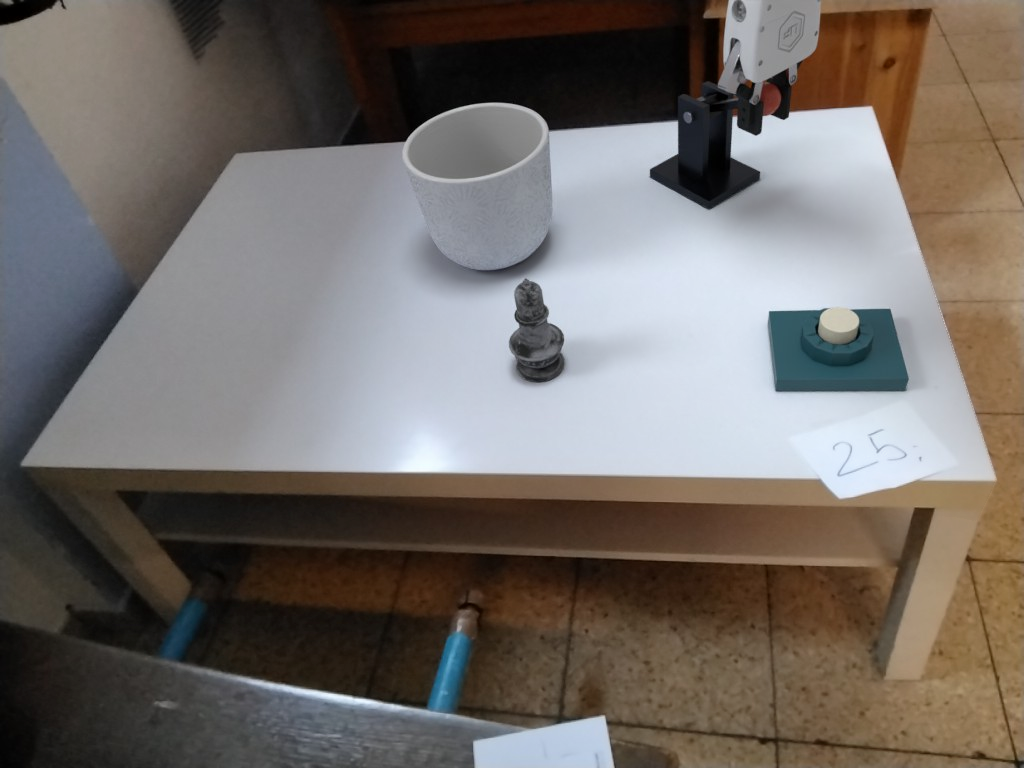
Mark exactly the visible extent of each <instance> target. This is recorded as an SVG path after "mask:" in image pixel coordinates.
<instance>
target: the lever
mask: <svg viewBox="0 0 1024 768" xmlns="http://www.w3.org/2000/svg"><path fill="white" fill-rule="evenodd" d="M696 99H697V100H699V101H701V102H703V103H706V104H708V105H710V109H709V120H710V119H712V118H714V117H716V116H717V115H719V114H721V113H722V111H726V110H733V111H734V110H738V98H737V97H734V98H733V99H727V100H721V101H719V100H718V97H717V94H713V95H707V96H702V95H701V96H700V97H698V98H696ZM760 101H762V102H764V107H763V117H768V116H772V115H771V114H772V113H774V112H775V111H776V110H777V109H778V107H779V105H780V103H781V93H780V90H779V89H778V87H777V86H775V85H774V84H772V83H769V82H766V81H765V82H764V81H763V85H762V91H761V96H760Z"/></svg>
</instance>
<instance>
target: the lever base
mask: <svg viewBox="0 0 1024 768" xmlns="http://www.w3.org/2000/svg"><path fill="white" fill-rule="evenodd" d="M713 94H717V97H718V100H719V101H721V100H727V99H733V98H735V96H734V94H733V93H729V92H726V91H724V90H721V89H719V88H718V84H715V83H713V82H711V81H709V80H707V81H705V82H704V83H702V84H701V97H702V96H707V95H713ZM697 99H698V98H694V97H691V96H690V95H688V94H685V93H683V94H681V95H679V96H677V153H676V154H675V155H673V156H671V157H669V158H668V159H666V160H664V161H661V162H660V163H659V164H657V165H655V166H654V167H651V168H650V169H649V178H651V179H653V180H655V181H656V182H657V183H660V184H661V185H664V186H665V187H667V188H669V189H671V190H673V191H674V192H677V193H678V194H680V195H682V196H683V197H685V198H687V199H689V200H691V201H693V202H695V203H697V204H698V205H700V206H702V207H703V208H706V209H707V210H711V209H713V208H714V207H716V206H718V205H719V204H721V203H723V202H725V201H726V200H727V199H729V198H731V197H733V196H734V195H736V194H738V193H739V192H741V191H743V190H744V189H746V188H748V187H750V186H752V185H753V184H754V183H756V182H758V181H759V180H761V171H760V170H759V169H756V168H753V167H752V166H750V165H748V164H745V163H743V162H741V161H740V160H738V159H735V158H733V157H732V139H733V122H734V121H733V120H734V119H733V118H734V109H733V110H726V111H722V113H721V114H719V115H717V116H716V117H714V118H712V119H710V120H709V109H710V105H708V104H706V103H703V102H701V101H699V100H697Z"/></svg>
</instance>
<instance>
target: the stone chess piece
mask: <svg viewBox="0 0 1024 768" xmlns="http://www.w3.org/2000/svg"><path fill="white" fill-rule="evenodd" d="M513 297H514V303H515V307H516V309H515V312H514V314H513V315H514V317H513V318H514V320H515V322H516V323H517V324H518V328H517V329H516V330H514V331H513V332H512V334H511V336H510V337H509V340H508V348H509V350H510V353H511V354H512V355H513V357H514V358H516V363H515V368H516V372H517V374H518V376H520V377H521V379H524V380H525V381H528V382H531V383H544V382H548V381H552V380H553V379H556V378H557V377H558V376H560V374H561V373H562V372H563V370H564V368H565V364H566V363H565V362H566V361H565V357H564V355H563V354H562V348H563V346H564V343H565V334H564V333H563V331H562V330H561V328H560V327H558V326H557V325H555V324H553V323H551V322H548V318H549V316H550V309H549V307H548V306H547V305H546V304H545V301H544V294H543V289H542V287H541V285H540V284H539V283H537V282H535V281H532V280H529V279H528V278H524V279H523V280H522V282H520V283H519V284H518V285H517V286H516V287H515V289H514V293H513Z"/></svg>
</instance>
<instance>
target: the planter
mask: <svg viewBox="0 0 1024 768" xmlns="http://www.w3.org/2000/svg"><path fill="white" fill-rule="evenodd" d="M550 147H551V146H550V129H549V126H548V123H547V121H546V120H545V119H544V118H543V117H542V116H541V115H540V114H539V113H538V112H536V111H535V110H533V109H532V108H528V107H525V106H523V105H519V104H515V103H514V104H513V103H507V102H484V103H483V102H482V103H474V104H469V105H464V106H459V107H456V108H453V109H450V110H447V111H444V112H442V113H440V114H437V115H436V116H434V117H432V118H430V119H428V120H427V121H425V122H423V123H422V124H421V125H419V126H418V127H417V128H415V130H413V132H412V133H410V135H409V136H408V138H407V139H406V141H405V142H404V145H403V147H402V151H401V156H402V157H401V158H402V162H403V164H404V167H405V170H406V173H407V176H408V179H409V182H410V184H411V187H412V189H413V192H414V194H415V198H416V200H417V203H418V206H419V209H420V212H421V215H422V217H423V220H424V222H425V225H426V228H427V230H428V233H429V236H430V238H431V239H432V241H433V243H434V244H435V246H436V247H437V248H438V250H439V251H440V252H441V253H442V254H443V255H444V256H446V258H448V260H450V261H451V262H454V263H456V264H457V265H460V266H462V267H465V268H467V269H470V270H476V271H495V270H501V269H505V268H509V267H512V266H514V265H516V264H519V263H521V262H523V261H524V260H526V259H527V258H529V257H530V256H531V255H532V254H533V253H534V252H535V251H537V249H538V248H539V247H540V246H541V245H542V243H543V242H544V240H545V238H546V236H547V234H548V232H549V229H550V226H551V222H552V217H553V216H552V215H553V188H552V187H553V186H552V185H553V184H552V167H551V163H552V162H551V148H550Z"/></svg>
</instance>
